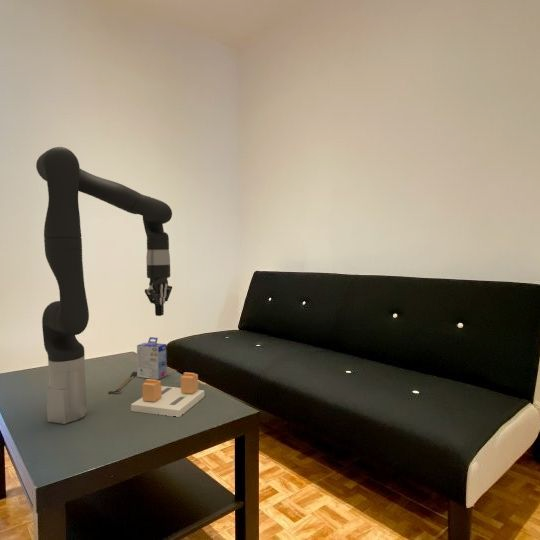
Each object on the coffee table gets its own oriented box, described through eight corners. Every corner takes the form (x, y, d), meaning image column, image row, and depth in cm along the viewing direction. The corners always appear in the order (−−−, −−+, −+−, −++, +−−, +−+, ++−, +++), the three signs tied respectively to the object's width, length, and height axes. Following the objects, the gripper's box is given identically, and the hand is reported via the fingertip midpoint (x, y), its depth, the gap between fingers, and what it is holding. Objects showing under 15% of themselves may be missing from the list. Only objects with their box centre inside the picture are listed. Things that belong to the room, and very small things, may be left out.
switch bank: (179, 417, 111) (179, 410, 111) (131, 411, 116) (130, 404, 116) (204, 396, 127) (204, 390, 126) (160, 391, 131) (160, 385, 131)
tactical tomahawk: (127, 397, 129) (127, 394, 129) (107, 395, 129) (107, 392, 129) (149, 375, 150) (149, 372, 150) (132, 373, 150) (132, 371, 150)
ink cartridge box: (167, 375, 148) (166, 337, 147) (159, 380, 143) (158, 341, 142) (145, 372, 151) (144, 335, 150) (136, 377, 146) (135, 339, 145)
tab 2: (192, 393, 123) (191, 375, 123) (180, 392, 124) (180, 374, 124) (198, 389, 127) (197, 371, 126) (187, 388, 128) (186, 370, 128)
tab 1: (154, 401, 117) (153, 382, 116) (142, 400, 118) (142, 381, 118) (161, 396, 121) (161, 378, 120) (150, 395, 122) (149, 377, 121)
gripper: (156, 264, 122) (157, 319, 123) (178, 262, 135) (179, 312, 136) (136, 264, 124) (137, 318, 125) (160, 262, 137) (161, 311, 138)
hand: (159, 315), depth 130 cm, fingers closed
